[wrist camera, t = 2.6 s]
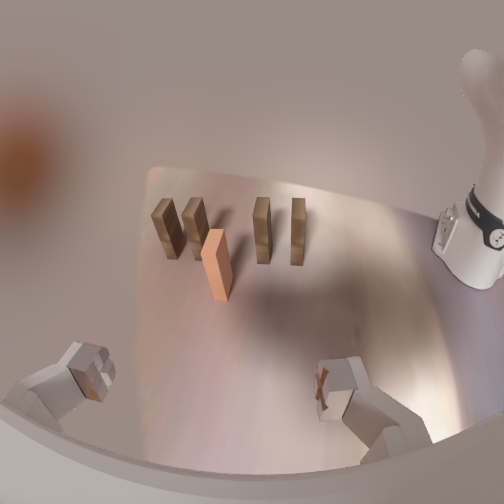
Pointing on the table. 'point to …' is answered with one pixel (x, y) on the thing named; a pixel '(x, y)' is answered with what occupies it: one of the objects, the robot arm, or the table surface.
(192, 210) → the domino
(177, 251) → the domino
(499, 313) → the table surface
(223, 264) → the domino
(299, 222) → the domino
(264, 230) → the domino
